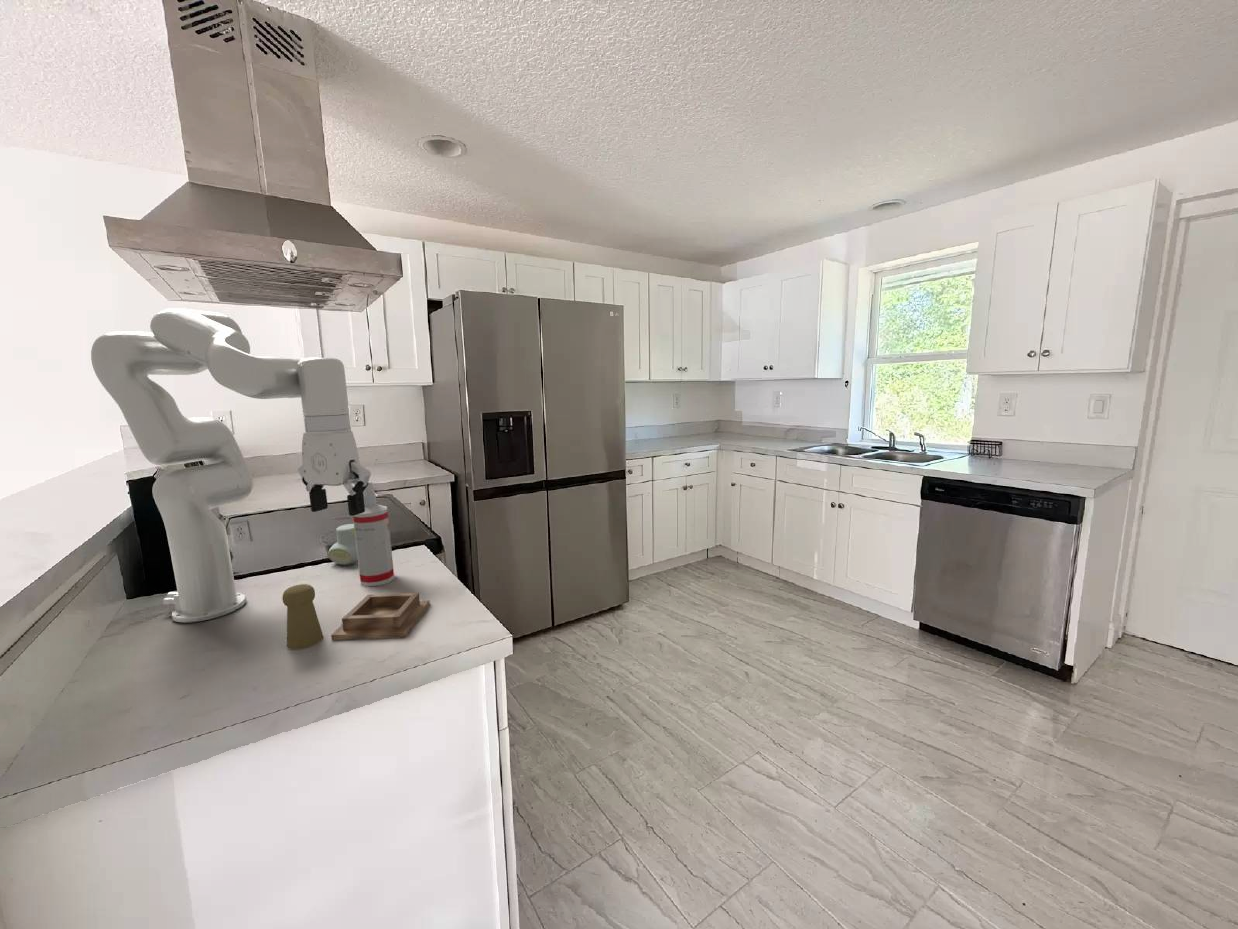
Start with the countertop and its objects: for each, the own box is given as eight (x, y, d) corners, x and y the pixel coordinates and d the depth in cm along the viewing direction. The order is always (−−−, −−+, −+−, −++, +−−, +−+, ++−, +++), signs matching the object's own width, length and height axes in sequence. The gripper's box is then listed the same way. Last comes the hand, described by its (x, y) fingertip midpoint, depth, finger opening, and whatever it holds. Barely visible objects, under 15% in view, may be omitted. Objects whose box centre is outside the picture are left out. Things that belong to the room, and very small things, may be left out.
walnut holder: (331, 639, 95) (329, 623, 94) (365, 606, 109) (363, 591, 108) (405, 637, 95) (403, 620, 95) (429, 604, 109) (428, 589, 109)
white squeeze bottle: (353, 583, 121) (341, 484, 117) (378, 572, 128) (368, 478, 124) (376, 588, 118) (365, 486, 114) (401, 576, 125) (391, 480, 121)
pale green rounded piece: (323, 565, 134) (319, 530, 132) (347, 554, 142) (343, 521, 140) (357, 568, 131) (353, 532, 130) (379, 557, 139) (376, 523, 138)
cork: (305, 650, 91) (298, 595, 89) (278, 647, 92) (270, 592, 90) (330, 634, 97) (324, 581, 95) (304, 631, 98) (297, 579, 96)
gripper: (276, 425, 93) (288, 513, 96) (345, 427, 87) (356, 521, 90) (312, 422, 100) (322, 504, 103) (379, 423, 94) (387, 510, 97)
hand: (338, 512), depth 96 cm, fingers open, 9 cm apart
